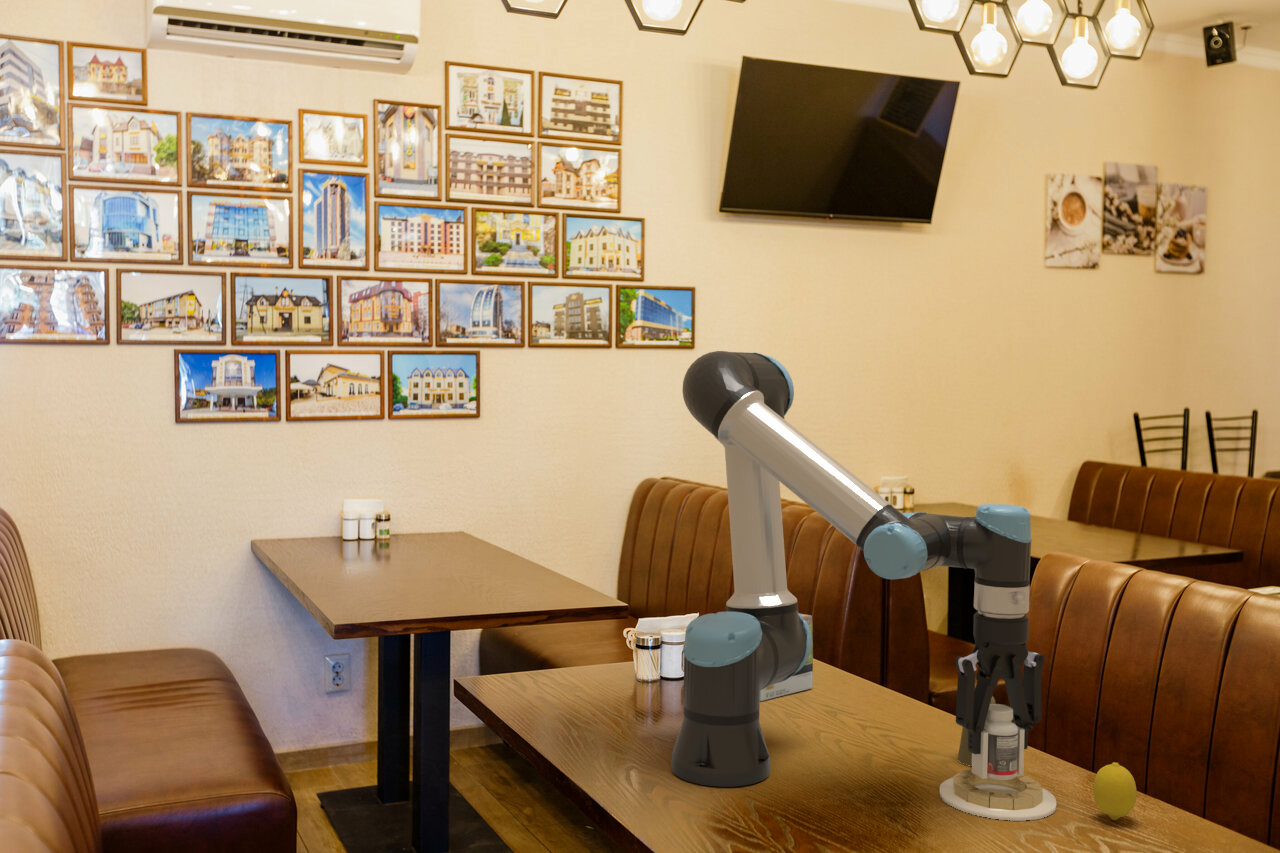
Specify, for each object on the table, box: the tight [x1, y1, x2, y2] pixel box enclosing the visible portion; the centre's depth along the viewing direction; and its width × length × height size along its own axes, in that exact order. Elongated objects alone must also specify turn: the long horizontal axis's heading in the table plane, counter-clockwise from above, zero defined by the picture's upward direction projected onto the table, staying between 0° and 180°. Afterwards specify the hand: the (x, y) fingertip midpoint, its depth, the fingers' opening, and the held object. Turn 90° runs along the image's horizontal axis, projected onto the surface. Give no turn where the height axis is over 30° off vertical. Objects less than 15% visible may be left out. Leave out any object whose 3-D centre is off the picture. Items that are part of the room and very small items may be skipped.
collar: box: [952, 768, 1043, 810], centre depth 160 cm, size 12×12×2 cm
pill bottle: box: [983, 703, 1018, 780], centre depth 160 cm, size 5×5×10 cm
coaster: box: [939, 777, 1057, 822], centre depth 160 cm, size 16×16×1 cm
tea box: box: [760, 612, 814, 702], centre depth 217 cm, size 15×10×15 cm, turn 130°
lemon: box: [1092, 761, 1138, 821], centre depth 153 cm, size 6×6×8 cm
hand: (997, 773), depth 160 cm, fingers closed on pill bottle, 5 cm apart
